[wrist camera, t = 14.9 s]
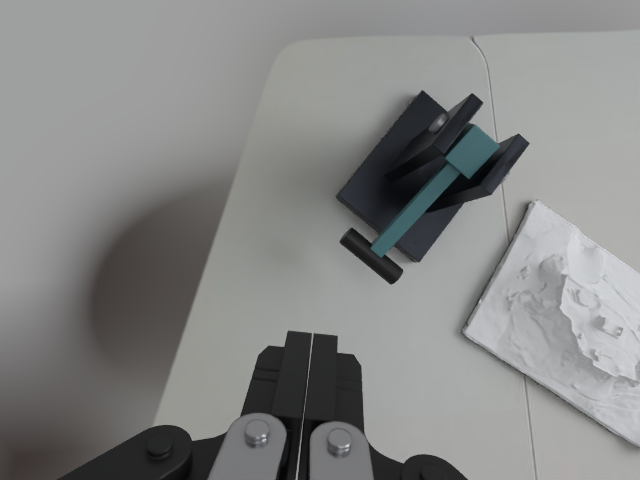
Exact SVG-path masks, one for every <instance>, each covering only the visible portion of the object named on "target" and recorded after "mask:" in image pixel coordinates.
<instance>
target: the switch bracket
mask: <svg viewBox="0 0 640 480" xmlns="http://www.w3.org/2000/svg"><path fill="white" fill-rule="evenodd" d="M482 105H483V102H482V101H481V100H480V99H479V98H478V97H476V96H475V95H474V94H473V93H472V94H470V95H469V96H468V97H467V98H465V99H464V100H463V101H461V102H460V103H459V104H457V105H456V106H455V107H453V108H452V109H451V110H450V111H448V112H447V111H446V110H445V109H444V108H442V107H441V106H440V105H439V104H438V103H437V102H436V101H434V100H433V99H432V98H431V97H430V96H429V95H428V94H426V93H425V92H424V91H423V90H422V91H421V92H420V93H419V94H418V95H417V96H416V98H415V99H414V100H413V101H412V103H411V104H410V105H409V106H408V108H407V109H406V110H405V111H404V113H403V114H402V115H401V116H400V118H399V119H398V120H397V121H396V122H395V124H394V125H393V126H392V127H391V129H390V130H389V131H388V132H387V134H386V135H385V136H384V137H383V139H382V140H381V141H380V142H379V144H378V145H377V146H376V147H375V149H374V150H373V151H372V152H371V154H370V155H369V156H368V157H367V158H366V160H365V161H364V162H363V163H362V165H361V166H360V167H359V168H358V170H357V171H356V172H355V173H354V175H353V176H352V177H351V178H350V180H349V181H348V182H347V183H346V185H345V186H344V187H343V188H342V190H341V191H340V192H339V193H338V194H337V196H336V198H338V199H339V200H340V201H341V202H342V203H344V204H345V205H346V206H347V207H348V208H350V209H351V210H352V211H353V212H354V213H356V214H357V215H358V216H359V217H360V218H362V219H363V220H364V221H365V222H366V223H368V224H369V225H370V226H371V227H372V228H374V229H375V230H376V231H377V232H378V233H380V234H381V232H382V231H383V230H384V229H385V228H386V227H387V226H388V225H389V224H390V223H391V222H392V220H393V219H394V218H395V217H396V216H397V215H398V214H399V213H400V212H401V211H402V209H403V208H404V207H405V206H406V205H407V204H408V203H409V202H410V201H411V200H412V199H413V197H414V196H415V195H416V194H417V193H418V192H419V191H420V190H421V189H422V188H423V186H424V185H425V184H426V183H427V182H428V181H429V180H430V179H431V178H432V177H433V175H434V174H435V173H436V172H437V171H438V170H439V169H440V168H441V167H442V166H443V165H444V163H445V162H446V161H447V160H446V159H445V158H444V157H443V156H442V155H443V154H445V152H446V151H447V150H448V148H449V147H450V146H451V145H452V143H453V142H454V141H455V139H456V138H457V137H458V136H459V134H460V133H461V132H462V130H463V129H464V128H465V127H466V125H467V124H468V123H469V121H470V120H471V119H472V118H473V116H474V115H475V114H476V112H477V111H478V110H479V108H480V107H481V106H482ZM529 144H530V143H529V142H528V141H526V140H525V139H524V138H523V137H522V136H521V135H520V134H517V135H515V136H513V137H511V138H509V139H507V140H505V141H503V142H500V143H498V145H499V146H500V147H499V148H498V149H497V150H496V151H495V152H494V154H493V155H492V156H491V157H490V158H489V159H488V160H487V161H486V162H485V163H484V164H483V165H482V166H481V167H480V168H479V169H478V170H477V171H476V173H475V174H474V175H473V176H472V177H471V178H470V179H468V178H467V177H465V176H464V175H463V174H462V173H460V174H459V175H458V176H457V178H456V179H455V180H454V181H453V182H452V183H451V184H450V185H449V186H448V187H447V188H446V189H445V190H444V191H443V193H442V194H441V195H440V196H439V197H438V198H437V199H436V200H435V201H434V202H433V203H432V204H431V205H430V206H429V208H428V209H427V210H426V211H425V212H424V213H423V214H422V215H421V216H420V217H419V218H418V219H417V220H416V221H415V223H414V224H413V225H412V226H411V227H410V228H409V229H408V230H407V231H406V232H405V233H404V234H403V235H402V236H401V238H400V239H399V240H398V241H397V242H396V243H395V244H394V246H395V247H396V248H398V249H399V250H400V251H401V252H402V253H404V254H405V255H406V256H407V257H409V258H410V259H411V260H412V261H413V262H420V261H421V259H422V258H423V257H424V255H425V254H426V253H427V251H428V250H429V249H430V247H431V246H432V245H433V243H434V242H435V241H436V239H437V238H438V237H439V236H440V234H441V233H442V232H443V230H444V229H445V228H446V226H447V225H448V224H449V222H450V221H451V220H452V218H453V217H454V216H455V214H456V213H457V212H458V210H459V209H460V208H461V206H462V205H463V204H464V203H465V202H468V201H472V200H475V199H479V198H482V197H486V196H489V195H492V193H493V192H494V191H495V189H496V188H497V187H498V185H500V184H501V183H502V182H503V181H504V180H505V179H506V178H507V176H508V175H509V171H510V169H511V168H512V167H513V165H514V164H515V163H516V161H517V160H518V159H519V157H520V156H521V155H522V153H523V152H524V150H525V149H526V148H527V146H528V145H529Z"/></svg>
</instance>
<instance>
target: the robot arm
mask: <svg viewBox="0 0 640 480" xmlns="http://www.w3.org/2000/svg"><path fill="white" fill-rule="evenodd" d="M311 337H312V333H305V332H296V331H288V333H287V338H286V342H285V347H277V346H268V347H267V348H266V349H264V350H263V351H262V352H261V353H260V354H259V355H258V358H257V362H256V365H255V370H254V372H253V375H252V380H251V382H250V385H249V389H248V392H247V396H246V399H245V402H244V406H243V409H242V412H241V416H240V417H239V418H238V419H236V420H235V421H234V422H233V423H232V424H231V425H230V427H229V429H228V431H227V432H226V433H224V434H222V435H220V436H217V437H214V438H209V439H202V440H196V441H192V439H191V437H190V435H189V434H188V433H187V432H186V431H185V430H184V429H182V428H180V427H177V426H172V425H161V426H155V427H152V428H149V429H147V430H145V431H143V432H141V433H140V434H138V435H136V436H134V437H132V438H130V439H129V440H127V441H125V442H123V443H121V444H120V445H118V446H116V447H114V448H113V449H111V450H109V451H107V452H105V453H104V454H102V455H100V456H98V457H96V458H95V459H93V460H91V461H89V462H88V463H86V464H84V465H82V466H81V467H79V468H77V469H75V470H73V471H72V472H70V473H68V474H66V475H64V476H63V477H61V478H59V479H57V480H295V479H296V471H297V462H298V454H299V446H300V438H301V430H302V422H303V431H302V441H301V452H300V462H299V472H298V480H468V479H467V478H466V477H464V476H463V475H462V474H461V473H460V472H459V471H458V470H457V469H456V468H455V467H453V466H452V465H451V464H450V463H448V462H447V461H445V460H443V459H441V458H439V457H436V456H432V455H425V454H422V455H416V456H413V457H410V458H409V459H408V460H406V461H405V463H404V464H403V463H400V462H398V461H395V460H393V459H390V458H388V457H386V456H384V455H382V454H380V453H379V452H378V451H376V450H375V449H374V448H373V447H372V446H371V445H370V443H369V442H368V440H367V438H366V436H365V433H364V417H363V395H362V373H361V365H360V364H359V362H358V361H357V359H356V357H355V356H354V355H353V354H343V353H337V340H338V336H334V335H325V334H316V333H314V337H313V345H312V353H311V362H310V370H309V378H308V369H309V358H310V348H311ZM307 379H308V387H307ZM306 388H307V395H306ZM305 397H306V403H305ZM304 405H305V412H304ZM303 413H304V420H303Z"/></svg>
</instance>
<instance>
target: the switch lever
mask: <svg viewBox="0 0 640 480" xmlns="http://www.w3.org/2000/svg"><path fill="white" fill-rule="evenodd" d="M499 147H500V146H499V145H498V144H497V143H496V142H495V141H494V140H492V139H491V138H490V137H489V136H488V135H487V134H486V133H484V132H483V131H482V130H481V129H480V128H479V127H478V126H476V125H474V124H471V123H468V124H467V125H466V127H465V128H464V129H463V130H462V132H461V133H460V134H459V136H458V137H457V138H456V139H455V141H454V142H453V143H452V145H451V146H450V147H449V148H448V150H447V151H446V152H445V154H443V155H442V156H443V157H444V158H445V159H446V160H447V161H446V162H445V163H444V165H443V166H442V167H441V168H440V169H439V170H438V171H437V172H436V173H435V174H434V175H433V177H432V178H431V179H430V180H429V181H428V182H427V183H426V184H425V185H424V186H423V188H422V189H421V190H420V191H419V192H418V193H417V194H416V195H415V196H414V197H413V199H412V200H411V201H410V202H409V203H408V204H407V205H406V206H405V207H404V208H403V209H402V211H401V212H400V213H399V214H398V215H397V216H396V217H395V218H394V219H393V220H392V222H391V223H390V224H389V225H388V226H387V227H386V228H385V229H384V230H383V231H382V232H381V234H380V235H379V236H378V237H377V238H376V239H375V240H374V241H373V242H372V243H370V242H369V241H368V240H367V239H365V238H364V237H363V236H362V235H361V234H359V233H358V232H357V231H356V230H354V229H353V228H350V229H349V230H348V231H347V232H346V233H345V234H344V235H343V237H342V238H341V240H340V243H341V244H342V245H343V246H344V247H345V248H347V249H348V250H349V251H350V252H352V253H353V254H354V255H355V256H356V257H358V258H359V259H360V260H361V261H363V262H364V263H365V264H366V265H367V266H369V267H370V268H371V269H372V270H373V271H375V272H376V273H377V274H378V275H380V276H381V277H382V278H383V279H384V280H386V281H387V282H388V283H389V284H394V283H395V282H396V281H397V280H398V279H399V278H400V277H401V275H402V273H403V269H402V268H400V267H399V266H398V265H397V264H396V263H394V262H393V261H392V260H391V259H390V258H388V257H387V256H386V255H385V254H386V253H387V251H388V250H389V249H390V248H391V247H392V246H393V245H394V244H395V243H396V242H397V241H398V240H399V239H400V238H401V236H402V235H403V234H404V233H405V232H406V231H407V230H408V229H409V228H410V227H411V226H412V225H413V224H414V223H415V221H416V220H417V219H418V218H419V217H420V216H421V215H422V214H423V213H424V212H425V211H426V210H427V209H428V208H429V206H430V205H431V204H432V203H433V202H434V201H435V200H436V199H437V198H438V197H439V196H440V195H441V194H442V193H443V191H444V190H445V189H446V188H447V187H448V186H449V185H450V184H451V183H452V182H453V181H454V180H455V179H456V178H457V176H458V175H459V174H460V173H462V174H463V175H464V176H465V177H467V178H468V179H470V178H471V177H472V176H473V175H474V174H475V173H476V171H477V170H478V169H479V168H480V167H481V166H482V165H483V164H484V163H485V162H486V161H487V160H488V159H489V158H490V157H491V156H492V155H493V154H494V152H495V151H496V150H497V149H498V148H499Z"/></svg>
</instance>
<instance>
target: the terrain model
mask: <svg viewBox="0 0 640 480" xmlns="http://www.w3.org/2000/svg"><path fill="white" fill-rule="evenodd" d="M549 208H550V207H549ZM560 216H561V215H560ZM560 216H558V215H557V214H555V213H554V212H553V211H551V210H549V209H548V208H547V207H545V206H544V205H543V204H542V203H541V202H539V201H538V200H536V201H534V202H532V203H530V204H529V207H528V210H527V212H526V214H525V216H524V219H523V221H522V222H521V224H520V225H519V229H518V230H517V231H518V232H517V233H516V234H515V235H514V239H513V240H512V243H511V244H510V245H509V248H508V250H507V251H506V253H505V255H504V256H503V258H502V260H501V262H500V264H499V265H498V267H497V269H496V270H495V273H494V274H493V276H492V279H491V280H490V282H489V283H488V285H487V287H486V289H485V291H484V293H483V295H482V297H481V299H480V300H479V302H478V304H477V305H476V307H475V309H474V310H473V312H472V314H471V316H470V317H469V320H468V321H467V324H466V325H465V326H464V328H463V329H462V333H463V334H465V335H466V336H467V337H468V338H469V339H471V340H472V341H474V342H475V343H477V344H479V345H481V346H482V347H484V348H485V349H487V350H488V351H490V352H491V353H493V354H494V355H495V356H497V357H499V358H500V359H501V360H504V361H505V362H507V363H509V364H510V365H511V366H513V367H515V368H517V369H518V370H519V371H521V372H522V373H524V374H526V375H527V376H529V377H531V378H532V379H534V380H535V381H537V382H538V383H540V384H541V385H543V386H545V387H546V388H548V389H549V390H551V391H552V392H554V393H555V394H556V395H558V396H560V397H561V398H562V399H564V400H565V401H567V402H568V403H570V404H572V405H573V406H575V407H576V408H577V409H579V410H581V411H582V412H583V413H584V414H586V415H588V416H589V417H591V418H593V419H594V420H596V421H597V422H599V423H600V424H601V425H603V426H604V427H606V428H607V429H608V430H610V431H611V432H613V433H614V434H616V435H618V436H622V438H624V439H626V440H627V441H628V442H630V443H631V444H633V445H636V446H638V447H640V274H639V273H638V272H636V271H635V270H633V269H632V268H631V267H629V266H628V265H627V264H625V263H623V262H622V261H621V260H619V259H618V258H617V257H615V256H613V255H612V254H611V253H610V252H608V251H607V250H605V249H604V248H602V247H600V246H599V245H597V244H596V243H595V242H593V241H592V240H590V239H589V238H587V237H586V236H585V235H583V234H582V233H581V232H580V230H579V229H578V228H577V227H576V226H574V225H573V224H571V223H569V222H568V221H566V220H564V219H563V218H561V217H563V216H561V217H560ZM468 324H469V325H468Z"/></svg>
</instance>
